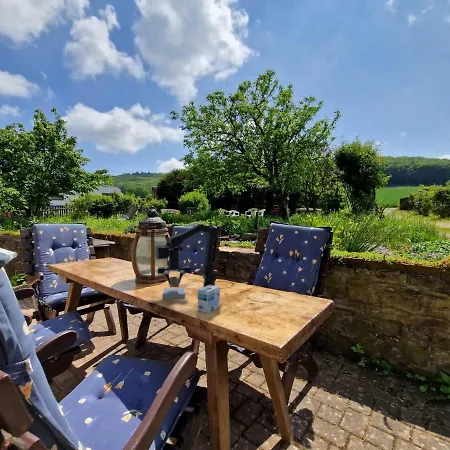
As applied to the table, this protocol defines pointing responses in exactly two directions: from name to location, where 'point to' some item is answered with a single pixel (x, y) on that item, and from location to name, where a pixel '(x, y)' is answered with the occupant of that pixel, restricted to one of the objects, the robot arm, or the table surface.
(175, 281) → the walnut cube
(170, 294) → the slate block
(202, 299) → the light bulb box
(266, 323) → the table surface
